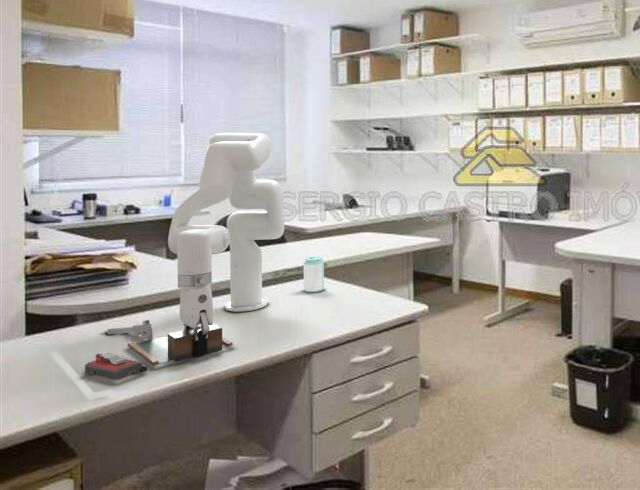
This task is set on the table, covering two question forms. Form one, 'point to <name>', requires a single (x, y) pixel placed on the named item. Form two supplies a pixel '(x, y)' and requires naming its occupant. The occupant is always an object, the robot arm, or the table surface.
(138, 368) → the toy chainsaw
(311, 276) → the can
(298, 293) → the table surface
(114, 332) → the caliper
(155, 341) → the chalkboard
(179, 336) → the eraser
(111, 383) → the table surface
